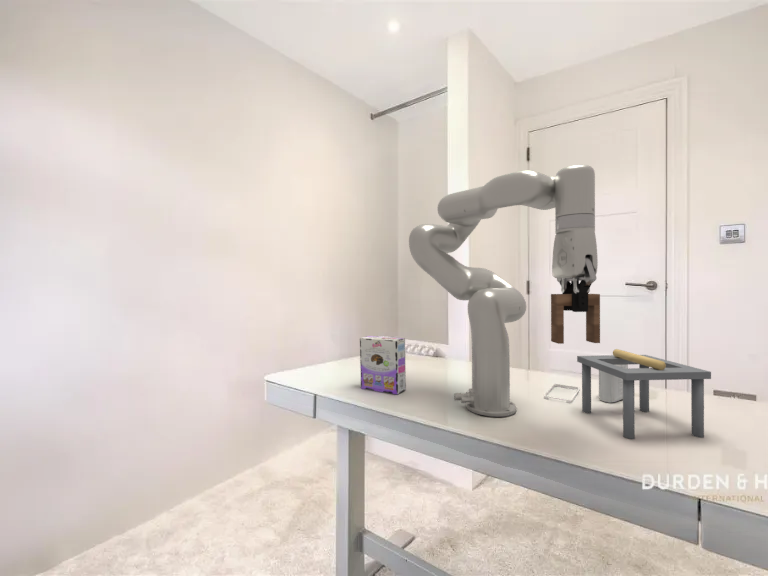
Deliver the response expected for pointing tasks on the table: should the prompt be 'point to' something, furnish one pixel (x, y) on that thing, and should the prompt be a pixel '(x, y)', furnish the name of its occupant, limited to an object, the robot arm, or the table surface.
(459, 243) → the robot arm
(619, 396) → the photo printer
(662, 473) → the table surface
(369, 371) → the candy box
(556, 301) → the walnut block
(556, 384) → the phone case
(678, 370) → the grey open-frame table
